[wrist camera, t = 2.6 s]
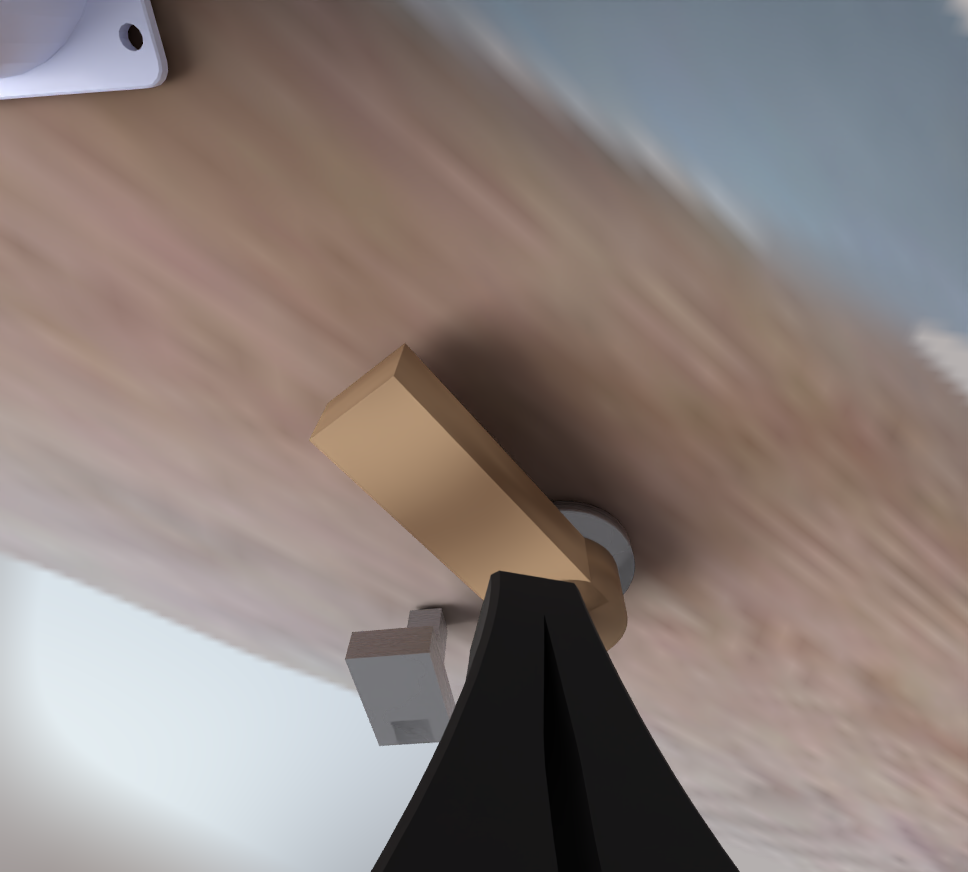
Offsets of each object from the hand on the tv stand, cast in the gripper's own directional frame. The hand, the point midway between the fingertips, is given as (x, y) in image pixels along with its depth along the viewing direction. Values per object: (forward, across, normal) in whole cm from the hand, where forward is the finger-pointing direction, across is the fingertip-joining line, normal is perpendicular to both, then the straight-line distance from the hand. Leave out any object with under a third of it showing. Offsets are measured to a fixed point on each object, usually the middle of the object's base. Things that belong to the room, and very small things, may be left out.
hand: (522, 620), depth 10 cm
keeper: (+10, +1, +10) cm, 14 cm away
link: (+9, 0, +4) cm, 10 cm away
